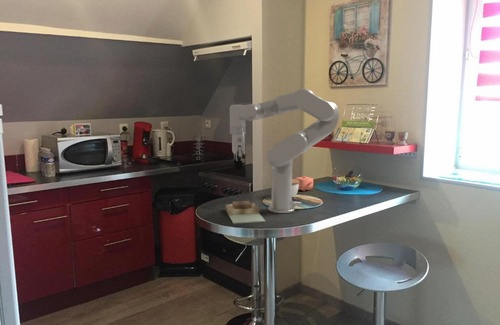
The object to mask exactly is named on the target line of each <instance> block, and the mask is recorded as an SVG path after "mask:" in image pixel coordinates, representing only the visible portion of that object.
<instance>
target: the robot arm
mask: <svg viewBox="0 0 500 325" xmlns="http://www.w3.org/2000/svg"><path fill="white" fill-rule="evenodd" d="M295 111H296V112H297V111H302V112H304V113H306V114H308V115H309V116H311V117H312V118H315V119H316V120H315V121H314V122H312V123H311V124H309V125H308V126H307V127H305V128H303V129H302V130H300V131H297V132H295V133H292V134H291V135H288V136H287V137H286V138H284V139H283V140H281V141H279V142H278V143H276V144H275V145H274V146H272V147H270V148H269V150H268V151H267V153H266V160H267V162H268V164H269V165H270V166H271V167H272V168H271V205H269V206H268V207H267V208H268V211H270V212H271V213H275V214H289V213H293V212H295V211H296V209H295V208H296V207H302V204H303V203H302V201H297V200H296V201H293V198H292V179H293V164H294V159H296V158H297V157H299V156H301V155H302V154H304V153H305V152H308V151H309V149H311V148H312V147H313V146H314V145H316V144H319V142H321V141H322V140H324V139H325V138H327V137H328V136H329V135H330V134H332V132H334V131H335V129H336V128H337V125H338V123H339V119H340V110H339V107H338V104H336V103H335V102H333V101H327V100H325V99H323V98H321V97H319V96H317V95H316V94H315V93H314V92H313V91H312V90H311V89H310V88H299V89H297V90H295V91H291V92H289V93H285V94H281V95H278V96H276V97H274V98H273V99H270V100H267V101H264V102H259V103H253V104H252V103H251V104H244V105H243V104H231V105H230V107H229V134H230V135H231V146H232V147H231V149H232V150H231V151H232V153H233V168H235V170H242V169H243V155H245V154H246V143H245V141H246V140H245V134H247V133H246V132H247V131H246V127H247V126H246V125H247V124H246V121H259V120H262V119H265V118H269V117H274V116H278V115H283V114H288V113H289V114H290V113H292V112H295Z"/></svg>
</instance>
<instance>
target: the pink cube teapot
mask: <svg viewBox="0 0 500 325" xmlns="http://www.w3.org/2000/svg"><path fill="white" fill-rule="evenodd" d="M294 179H296V180H299V188H298V191H302V192H306V190H307V191H311V189H314V178H313V177H309V176H306V175H302V176H300V177H295V178H294Z"/></svg>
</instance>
